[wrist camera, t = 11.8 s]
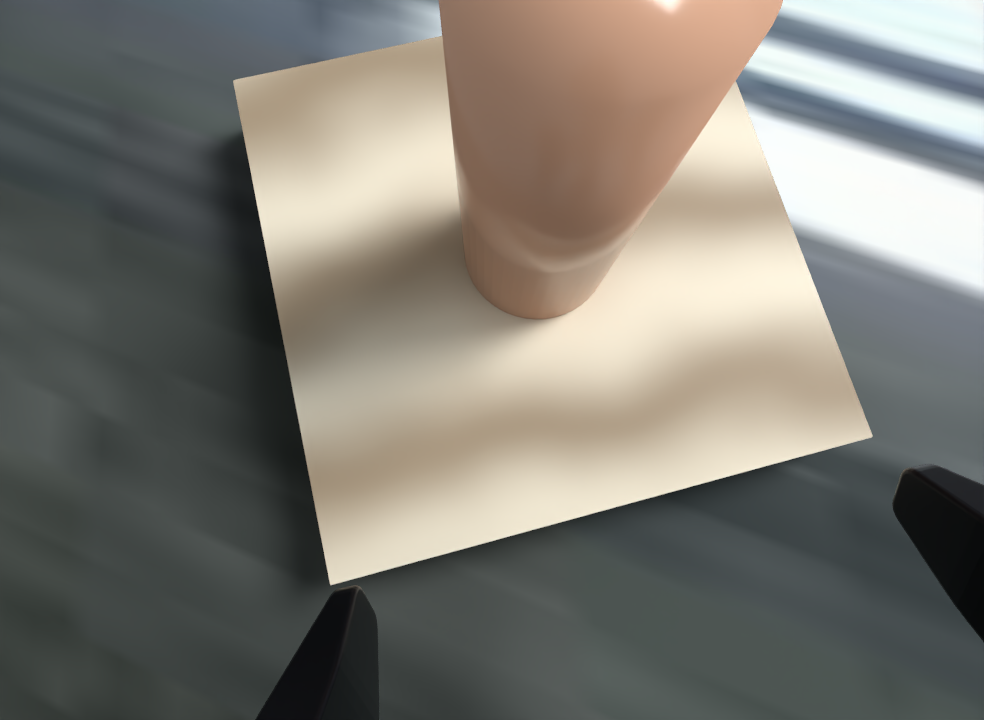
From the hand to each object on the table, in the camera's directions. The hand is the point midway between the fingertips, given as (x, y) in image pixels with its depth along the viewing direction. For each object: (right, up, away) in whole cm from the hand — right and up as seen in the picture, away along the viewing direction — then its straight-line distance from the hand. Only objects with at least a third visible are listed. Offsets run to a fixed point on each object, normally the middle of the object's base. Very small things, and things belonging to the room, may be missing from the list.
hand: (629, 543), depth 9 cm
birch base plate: (-1, +6, +12) cm, 14 cm away
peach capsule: (-1, +7, +10) cm, 12 cm away
